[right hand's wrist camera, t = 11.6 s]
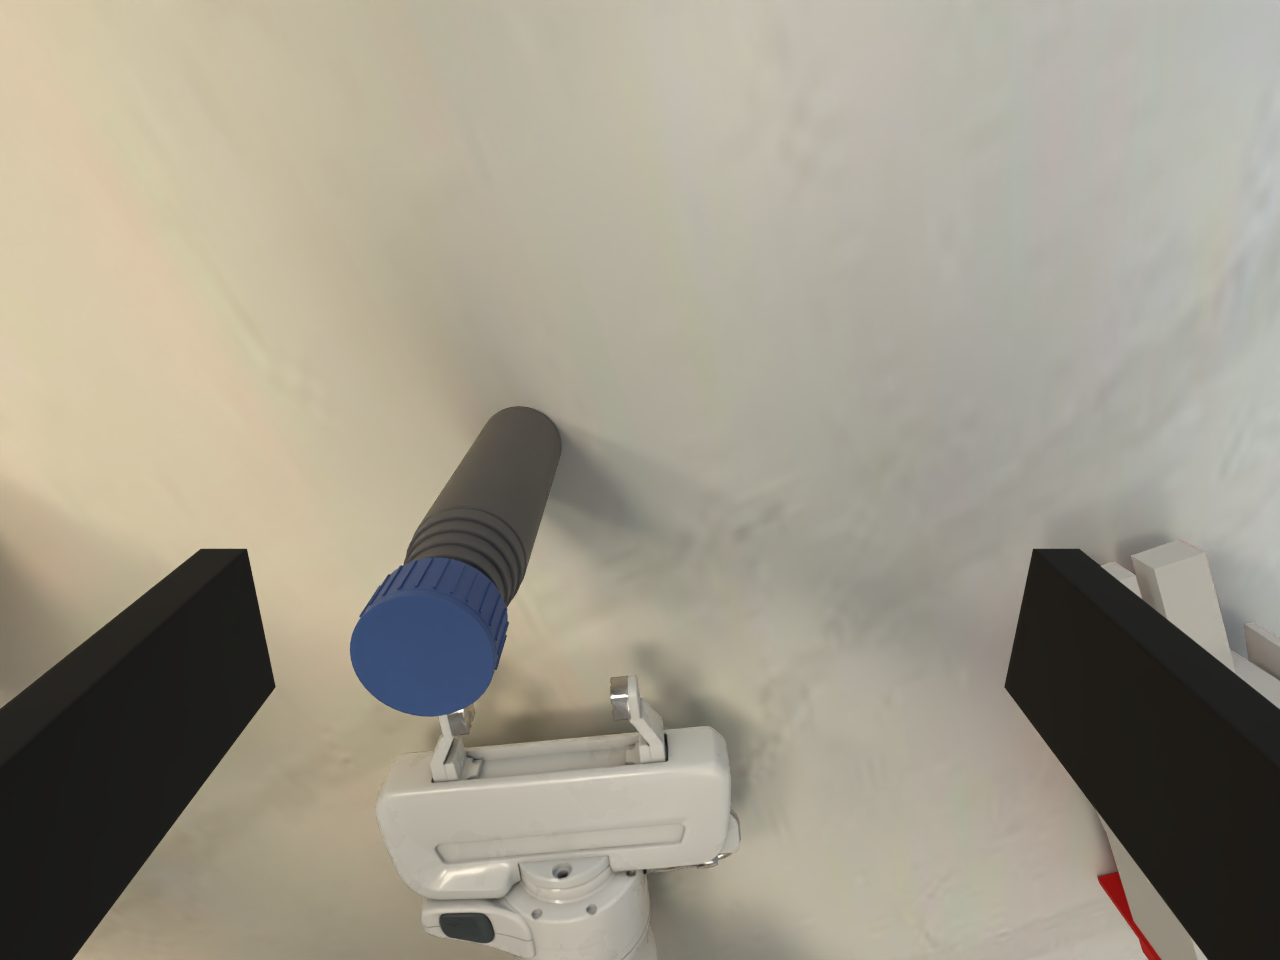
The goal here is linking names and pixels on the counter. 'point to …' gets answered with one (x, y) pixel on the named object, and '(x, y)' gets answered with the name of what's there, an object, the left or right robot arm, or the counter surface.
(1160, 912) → the toy
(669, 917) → the counter surface
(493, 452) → the bottle
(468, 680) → the cap
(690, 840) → the left robot arm
